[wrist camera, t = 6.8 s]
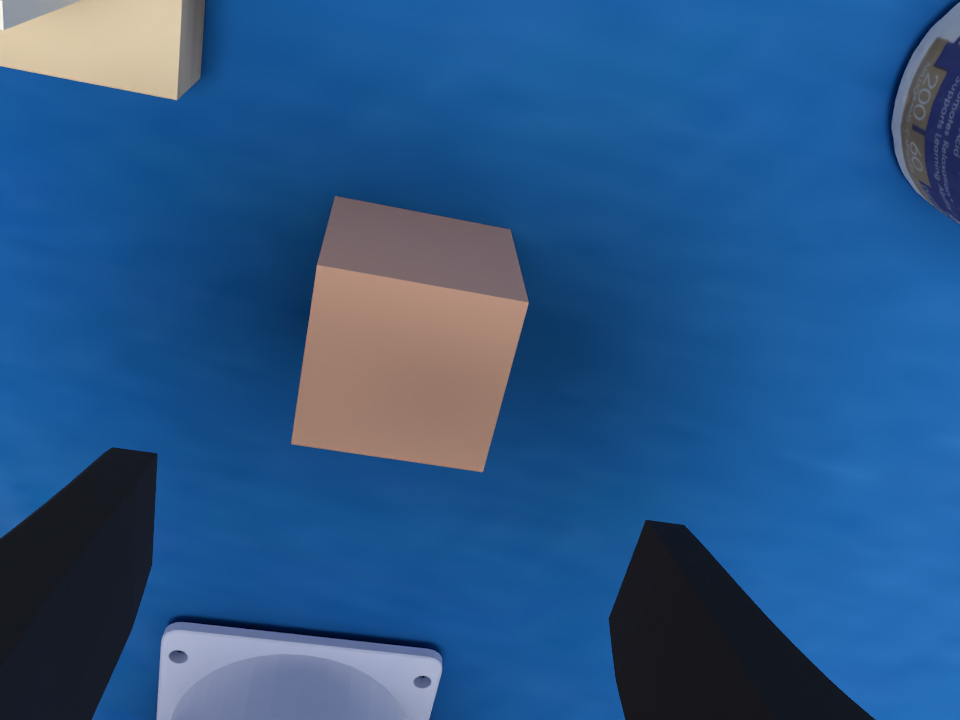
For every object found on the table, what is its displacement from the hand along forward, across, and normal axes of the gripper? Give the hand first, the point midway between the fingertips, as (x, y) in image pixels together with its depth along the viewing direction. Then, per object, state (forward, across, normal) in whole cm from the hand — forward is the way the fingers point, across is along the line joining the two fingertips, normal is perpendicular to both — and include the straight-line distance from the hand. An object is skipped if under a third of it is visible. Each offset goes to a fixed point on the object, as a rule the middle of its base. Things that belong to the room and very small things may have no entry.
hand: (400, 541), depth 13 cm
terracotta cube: (+9, 0, 0) cm, 9 cm away
